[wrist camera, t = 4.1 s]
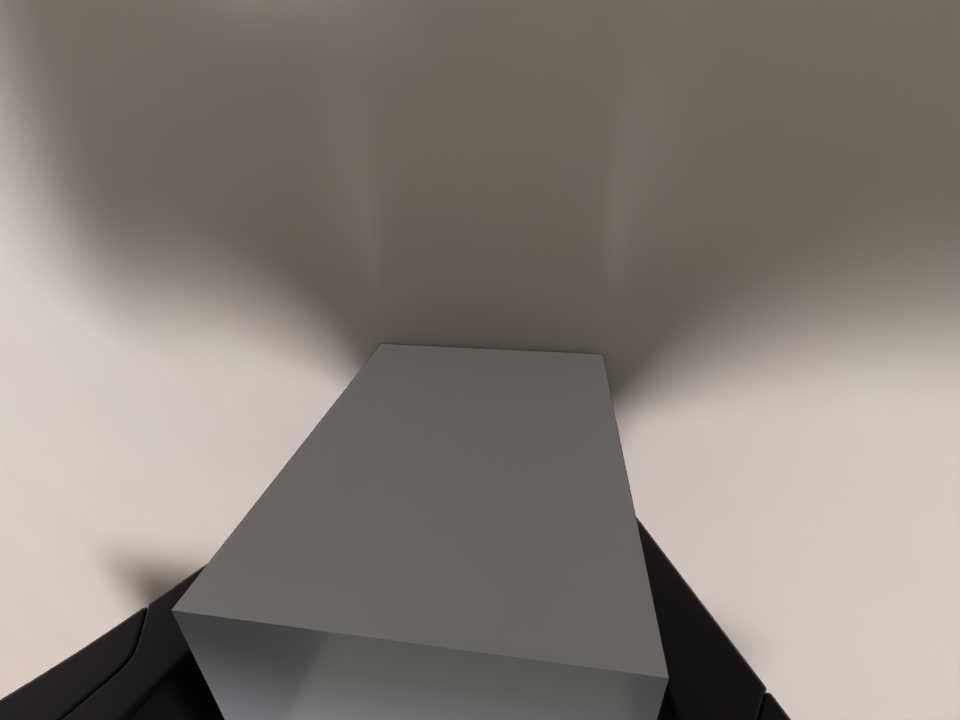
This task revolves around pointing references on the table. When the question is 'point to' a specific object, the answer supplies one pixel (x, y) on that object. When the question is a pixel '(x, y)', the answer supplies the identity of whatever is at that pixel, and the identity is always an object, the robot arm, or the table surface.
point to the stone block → (440, 555)
